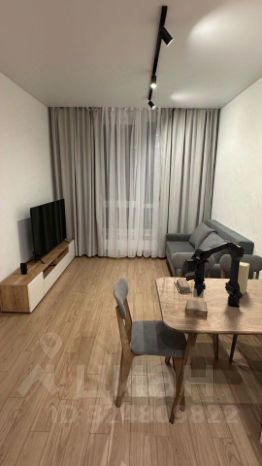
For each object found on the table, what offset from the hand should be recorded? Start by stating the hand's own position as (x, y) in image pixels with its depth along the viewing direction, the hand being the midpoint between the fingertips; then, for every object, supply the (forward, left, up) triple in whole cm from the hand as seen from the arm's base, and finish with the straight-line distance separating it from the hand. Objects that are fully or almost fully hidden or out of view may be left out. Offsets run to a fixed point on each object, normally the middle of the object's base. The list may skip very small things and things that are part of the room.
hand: (198, 294), depth 152 cm
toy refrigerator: (-32, -36, -11) cm, 49 cm away
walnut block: (0, 0, -12) cm, 12 cm away
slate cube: (0, 0, -1) cm, 1 cm away
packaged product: (+8, -33, -12) cm, 36 cm away
